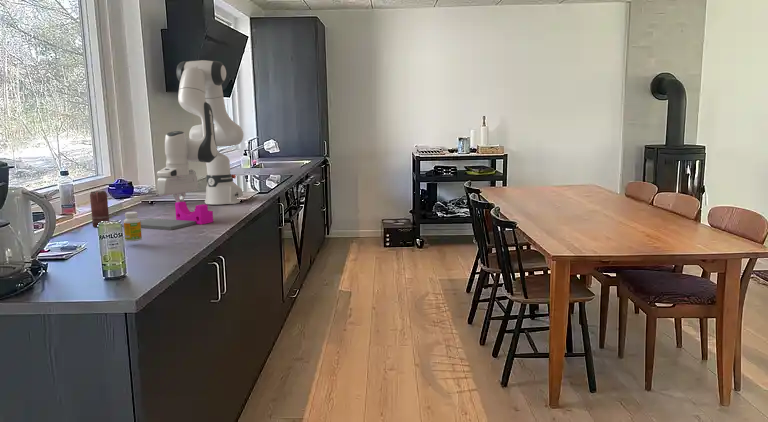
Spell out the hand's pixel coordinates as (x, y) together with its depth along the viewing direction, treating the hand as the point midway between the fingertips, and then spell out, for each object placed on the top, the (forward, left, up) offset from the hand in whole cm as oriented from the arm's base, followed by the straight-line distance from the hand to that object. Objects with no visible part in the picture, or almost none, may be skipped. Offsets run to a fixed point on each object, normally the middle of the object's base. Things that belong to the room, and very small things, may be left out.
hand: (180, 203), depth 241 cm
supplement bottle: (+39, +14, -7) cm, 42 cm away
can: (+21, -22, -7) cm, 31 cm away
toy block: (+1, +8, -7) cm, 11 cm away
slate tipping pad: (+12, 0, -7) cm, 14 cm away
